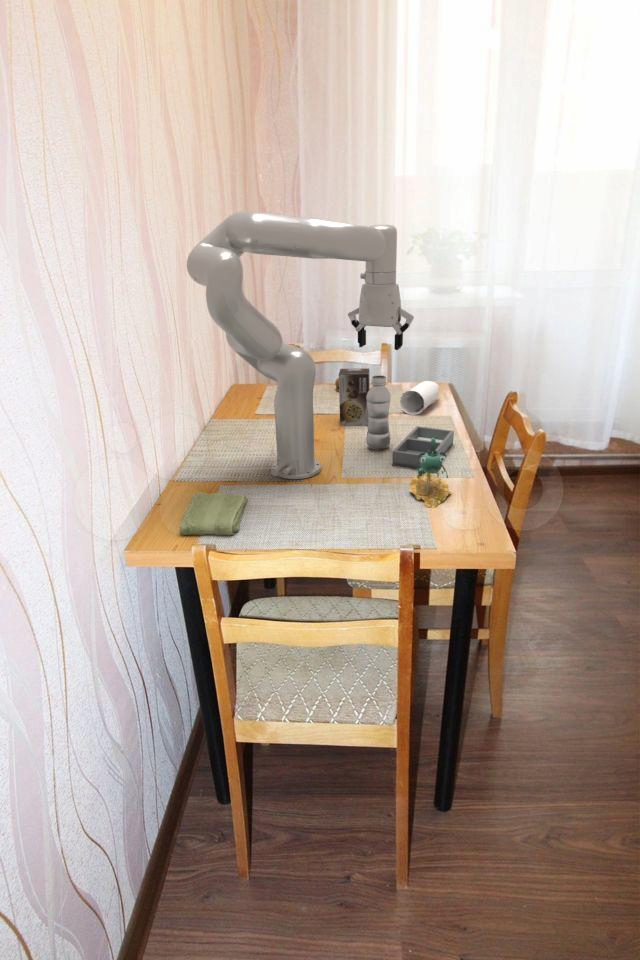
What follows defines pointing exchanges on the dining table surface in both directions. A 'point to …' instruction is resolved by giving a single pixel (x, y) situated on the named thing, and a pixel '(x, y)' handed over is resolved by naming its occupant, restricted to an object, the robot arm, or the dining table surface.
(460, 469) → the dining table surface
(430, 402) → the white hollow cylinder
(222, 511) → the washcloth
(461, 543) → the dining table surface
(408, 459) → the grey compartment tray
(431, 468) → the frog figurine
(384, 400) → the plastic bottle
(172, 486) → the dining table surface
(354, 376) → the coffee box
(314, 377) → the robot arm
